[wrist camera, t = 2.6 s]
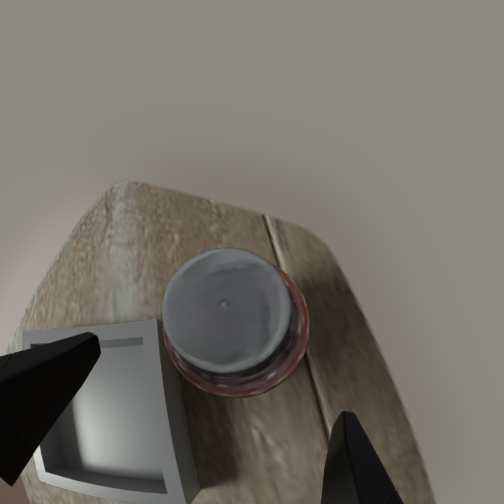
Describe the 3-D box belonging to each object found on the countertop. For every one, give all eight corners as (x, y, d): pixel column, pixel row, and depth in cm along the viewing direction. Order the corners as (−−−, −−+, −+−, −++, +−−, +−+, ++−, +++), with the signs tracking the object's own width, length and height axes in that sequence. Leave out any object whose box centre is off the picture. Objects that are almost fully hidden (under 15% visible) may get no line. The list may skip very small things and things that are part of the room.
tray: (200, 489, 14) (187, 507, 11) (65, 473, 14) (39, 480, 11) (174, 329, 19) (156, 318, 16) (49, 340, 19) (22, 331, 16)
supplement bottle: (191, 328, 19) (111, 263, 9) (267, 290, 20) (264, 190, 10) (229, 405, 17) (175, 433, 7) (309, 365, 18) (361, 341, 8)
